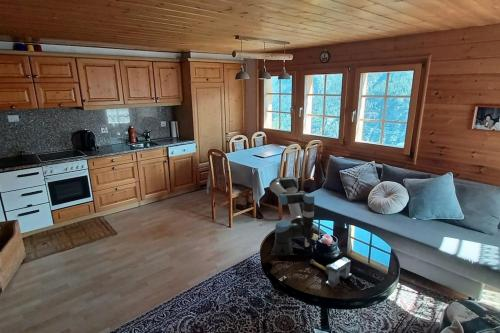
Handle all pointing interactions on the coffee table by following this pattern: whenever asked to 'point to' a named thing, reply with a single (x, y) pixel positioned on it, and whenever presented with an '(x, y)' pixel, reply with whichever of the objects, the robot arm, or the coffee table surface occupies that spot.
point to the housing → (338, 271)
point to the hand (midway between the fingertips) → (306, 245)
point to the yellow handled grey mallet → (321, 266)
